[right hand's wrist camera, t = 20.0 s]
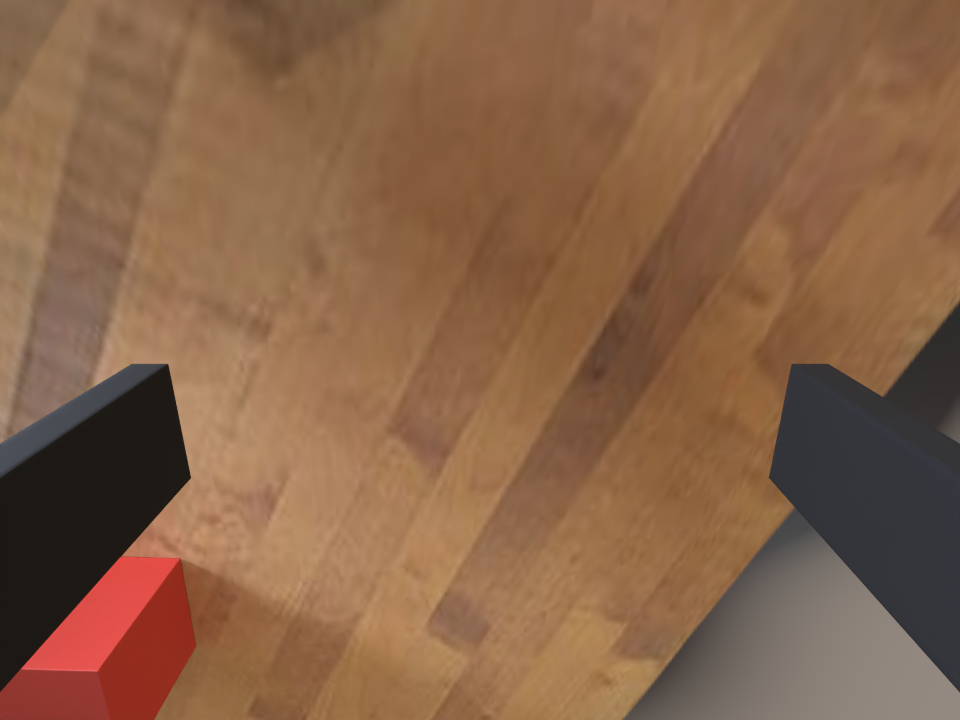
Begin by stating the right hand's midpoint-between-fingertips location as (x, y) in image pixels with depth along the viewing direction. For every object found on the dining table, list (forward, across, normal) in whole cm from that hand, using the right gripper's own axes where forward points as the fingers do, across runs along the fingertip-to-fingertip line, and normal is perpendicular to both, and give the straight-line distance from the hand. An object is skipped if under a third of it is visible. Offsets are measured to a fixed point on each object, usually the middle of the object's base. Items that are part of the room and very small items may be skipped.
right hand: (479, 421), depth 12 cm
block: (+26, +28, +29) cm, 48 cm away
